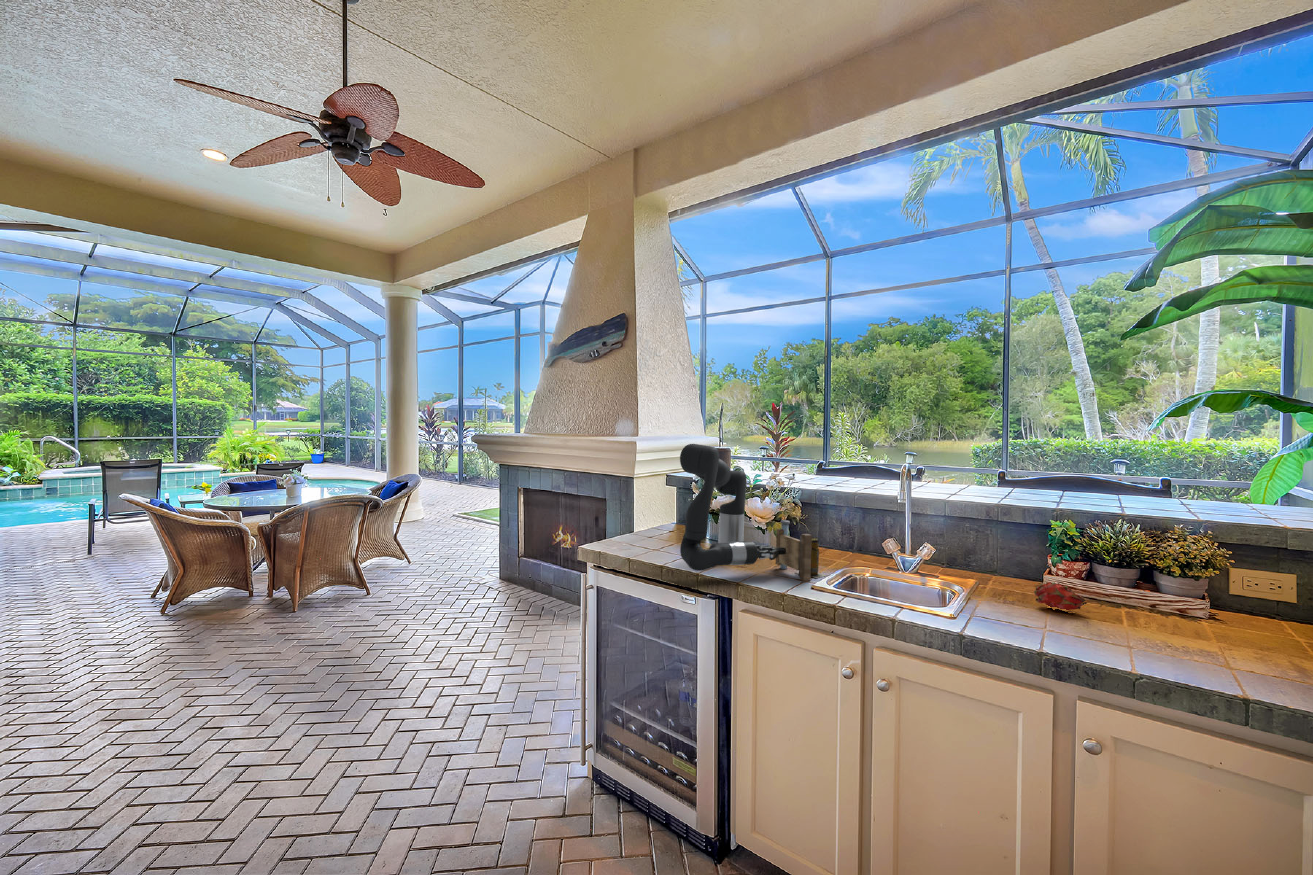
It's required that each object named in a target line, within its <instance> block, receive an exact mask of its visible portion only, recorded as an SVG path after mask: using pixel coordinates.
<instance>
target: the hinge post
mask: <svg viewBox="0 0 1313 875" xmlns="http://www.w3.org/2000/svg"><path fill="white" fill-rule="evenodd" d="M800 536H801V556H800V576H799V581H802V582H804V583H805V582H806V583H807V582H811V577H810V576H811V549H812V538H813V535H812V534H809V533H801V534H800Z"/></svg>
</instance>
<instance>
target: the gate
mask: <svg viewBox="0 0 1313 875" xmlns="http://www.w3.org/2000/svg"><path fill="white" fill-rule="evenodd" d="M783 531H784V530H783V529H781V528H776V536H775V537H776V544H775V547H784V548H786V554H784V555H778V557H777V558H775V565H777V566H780V565H782V564H784V565H786V566H787V567H789V568H791V569H793V570H796V571H798V572H799V574H798V576H799V577H800V556H801V535H800V536H799V539H798V538H795V537H792V536H789V535H788V536H786V535H783Z"/></svg>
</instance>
